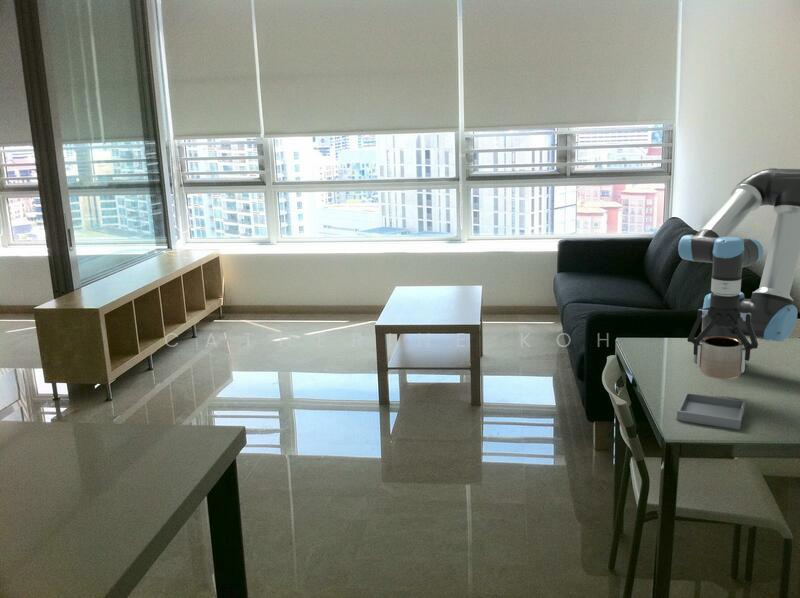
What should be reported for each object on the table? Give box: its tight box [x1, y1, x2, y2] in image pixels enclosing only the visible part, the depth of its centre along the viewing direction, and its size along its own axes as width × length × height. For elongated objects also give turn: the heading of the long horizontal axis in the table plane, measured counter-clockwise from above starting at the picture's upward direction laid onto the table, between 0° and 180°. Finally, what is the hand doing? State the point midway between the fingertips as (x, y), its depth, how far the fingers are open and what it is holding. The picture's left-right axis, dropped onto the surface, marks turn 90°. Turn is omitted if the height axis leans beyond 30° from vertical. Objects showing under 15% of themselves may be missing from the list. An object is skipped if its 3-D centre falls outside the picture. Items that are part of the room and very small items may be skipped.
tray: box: [676, 392, 746, 431], centre depth 198 cm, size 15×15×2 cm
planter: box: [699, 336, 744, 380], centre depth 210 cm, size 11×11×10 cm
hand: (720, 368), depth 211 cm, fingers closed on planter, 11 cm apart
